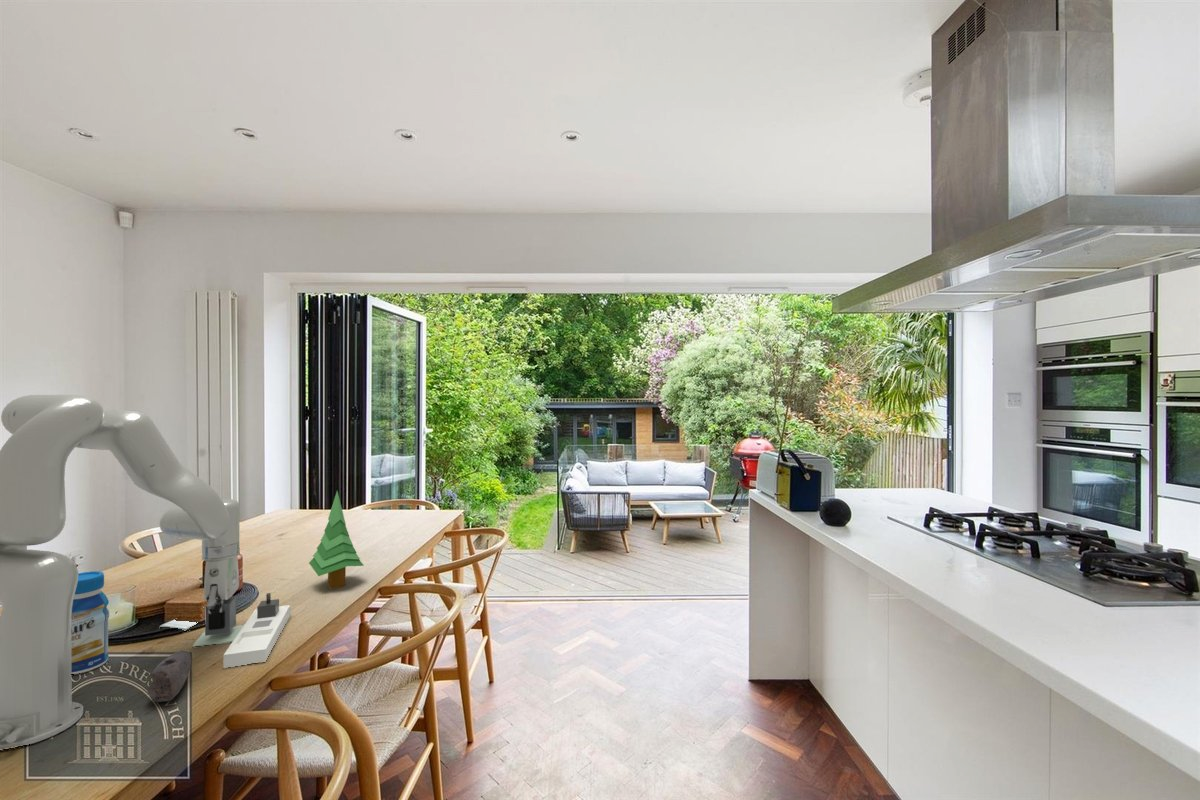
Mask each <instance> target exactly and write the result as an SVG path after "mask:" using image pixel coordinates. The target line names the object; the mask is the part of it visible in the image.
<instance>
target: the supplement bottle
mask: <svg viewBox="0 0 1200 800" xmlns="http://www.w3.org/2000/svg"><path fill="white" fill-rule="evenodd" d="M104 585H105V574H104V572H103V571H96V570H93V571H84V572H78V583H77V587H76V591H75V595H74V599H73V605H72V615H71V674H74V675H79V673H80V674H84V673H87V672H90V671H93V670H95V669H97V668H99V667H102V666H103V665H105V664H106V663H107V661H108V660H109V618H110V610H109V609H108V608H107V607H108V605H109V599H108V596H107V595H106V594H105V592H103V591H102V589H104Z"/></svg>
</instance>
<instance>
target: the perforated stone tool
mask: <svg viewBox="0 0 1200 800" xmlns="http://www.w3.org/2000/svg"><path fill="white" fill-rule="evenodd" d="M191 666H192V657H191V654H190V652H189V651H188V650H187V649H183V650H178V651H175V652H173V653H172V654H170V655H169V656H167V657H166V658H165V659H163V660H162V661H161V662H160V663H158V664H157V666H155V668H154V669H153V670H152V672H151V674H150V678H151V680H152V681H151V682H150V684H149V686H148V689H147V693H148V695H149V696H150V699H151V701H152V702H153V703H164V702H170V701H172V700H173V699H174V698H175V697H176V696H178V694H179V693H180V692H181V690H182V688H183V687H184V685H185V683H186V680H187V679H188V676H189V672H190V670H191Z"/></svg>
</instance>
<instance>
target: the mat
mask: <svg viewBox="0 0 1200 800" xmlns="http://www.w3.org/2000/svg"><path fill="white" fill-rule="evenodd" d="M244 625H245V624H241V625H235V626H234V627H233V629H232V630H231V632H230V633H223V634H215V635H207V636H205V630H204V631H203V632H202V633H201V635H200V636H199V637H198V638H197V639H196V641H195V642H194V643H193V644H192V645H191V648H192V647H193V648H195V647H194V646H201V647H205V646H204V645H209V646H213V645H212V644H216V645H221V644H222V645H223V643H224V644H230V642H233V641H234V639H235V638H236V636H237V635H238V633H239V632H240V631H241V629H242V628H243V626H244Z"/></svg>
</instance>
